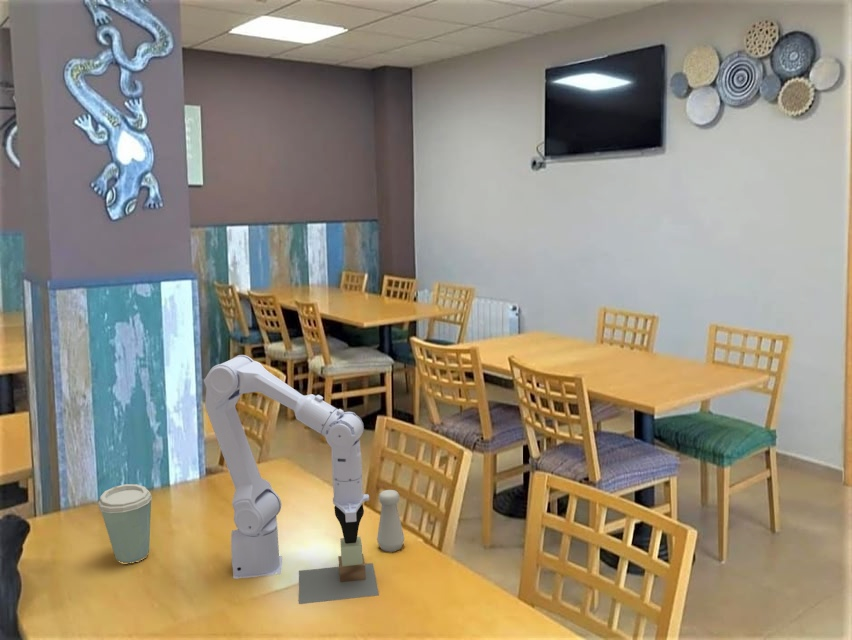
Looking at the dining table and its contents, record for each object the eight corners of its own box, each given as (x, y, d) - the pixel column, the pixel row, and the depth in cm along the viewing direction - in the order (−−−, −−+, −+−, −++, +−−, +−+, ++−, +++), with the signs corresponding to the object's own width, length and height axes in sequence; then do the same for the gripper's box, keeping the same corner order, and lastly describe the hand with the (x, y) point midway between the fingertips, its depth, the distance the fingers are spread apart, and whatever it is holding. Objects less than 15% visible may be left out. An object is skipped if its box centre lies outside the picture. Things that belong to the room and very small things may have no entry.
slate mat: (298, 606, 144) (298, 603, 144) (299, 573, 156) (298, 570, 156) (379, 598, 146) (379, 595, 146) (372, 565, 159) (372, 563, 159)
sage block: (342, 566, 151) (341, 547, 151) (341, 557, 155) (340, 538, 154) (362, 564, 152) (361, 545, 151) (361, 555, 156) (360, 536, 155)
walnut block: (340, 582, 151) (339, 567, 151) (338, 570, 156) (338, 556, 156) (365, 579, 152) (365, 565, 151) (363, 567, 157) (363, 553, 156)
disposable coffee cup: (166, 556, 165) (160, 490, 163) (118, 575, 158) (111, 506, 155) (142, 542, 173) (136, 478, 170) (95, 560, 165) (88, 493, 162)
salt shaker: (401, 556, 162) (398, 498, 160) (374, 554, 163) (372, 496, 161) (407, 544, 168) (405, 487, 166) (381, 542, 169) (379, 486, 167)
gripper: (371, 488, 144) (374, 556, 146) (364, 461, 158) (367, 524, 160) (333, 491, 143) (336, 560, 145) (330, 464, 157) (333, 527, 159)
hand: (350, 541), depth 153 cm, fingers closed
